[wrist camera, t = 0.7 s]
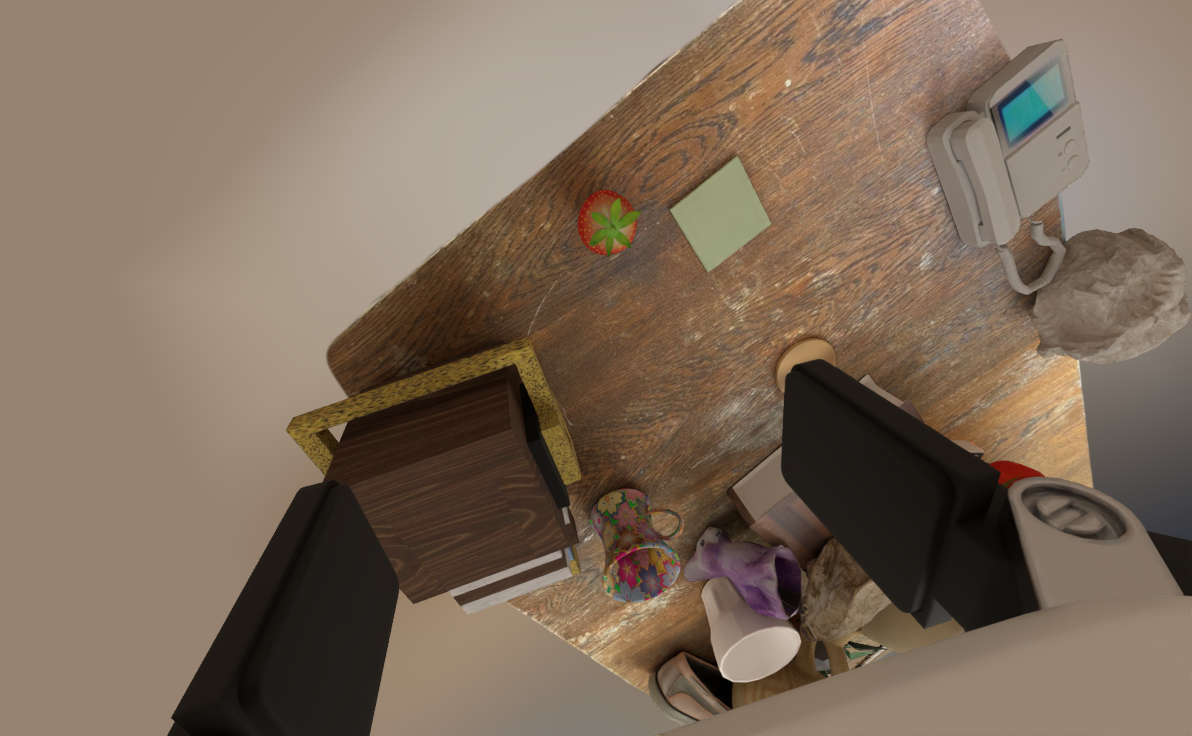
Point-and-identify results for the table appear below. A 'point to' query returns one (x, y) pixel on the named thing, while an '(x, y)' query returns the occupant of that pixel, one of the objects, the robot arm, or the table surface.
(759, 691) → the ceramic vessel
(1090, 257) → the stone
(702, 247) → the napkin
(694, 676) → the loafer
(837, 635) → the rock
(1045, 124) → the intercom
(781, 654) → the cup
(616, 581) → the mug
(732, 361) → the table surface
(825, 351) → the coaster
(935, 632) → the flower pot
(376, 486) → the brown wooden box
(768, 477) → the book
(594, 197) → the fruit
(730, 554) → the figurine
